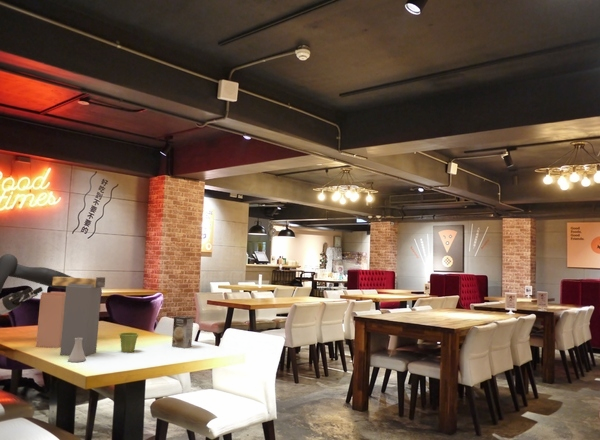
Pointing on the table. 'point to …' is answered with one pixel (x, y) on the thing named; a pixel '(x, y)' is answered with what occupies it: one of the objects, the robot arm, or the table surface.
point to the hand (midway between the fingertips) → (36, 289)
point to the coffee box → (182, 331)
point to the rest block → (50, 319)
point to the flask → (77, 352)
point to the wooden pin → (79, 281)
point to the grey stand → (80, 318)
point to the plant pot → (128, 341)
